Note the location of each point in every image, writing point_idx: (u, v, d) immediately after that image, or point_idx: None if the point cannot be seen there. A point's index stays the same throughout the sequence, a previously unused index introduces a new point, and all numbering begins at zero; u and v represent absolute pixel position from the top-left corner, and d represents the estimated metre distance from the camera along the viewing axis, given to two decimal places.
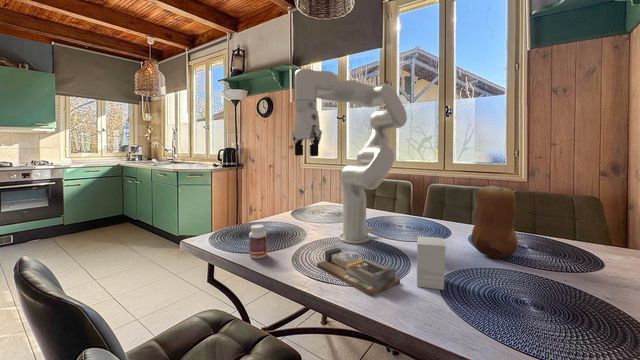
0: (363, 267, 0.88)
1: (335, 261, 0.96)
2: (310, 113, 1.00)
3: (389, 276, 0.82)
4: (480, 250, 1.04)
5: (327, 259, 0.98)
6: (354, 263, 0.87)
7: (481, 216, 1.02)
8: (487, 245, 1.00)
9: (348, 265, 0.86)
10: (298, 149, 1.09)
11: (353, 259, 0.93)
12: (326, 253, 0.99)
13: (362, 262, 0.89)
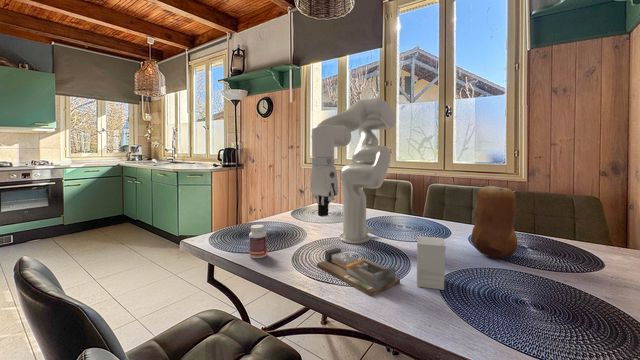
0: (363, 267, 0.88)
1: (335, 261, 0.96)
2: (328, 171, 0.96)
3: (389, 276, 0.82)
4: (480, 250, 1.04)
5: (327, 259, 0.98)
6: (354, 263, 0.87)
7: (481, 216, 1.02)
8: (487, 245, 1.00)
9: (348, 265, 0.86)
10: None
11: (353, 259, 0.93)
12: (326, 253, 0.99)
13: (362, 262, 0.89)
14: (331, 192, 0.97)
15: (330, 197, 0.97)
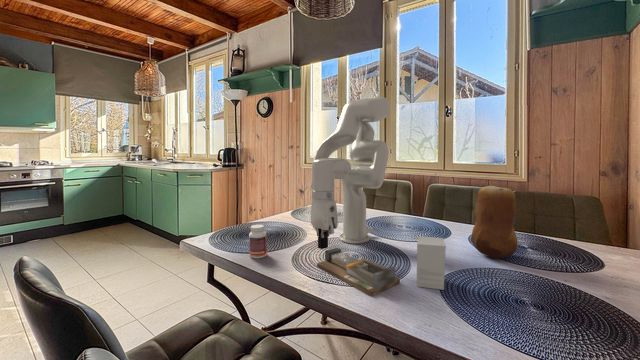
0: (363, 267, 0.88)
1: (335, 261, 0.96)
2: (328, 205, 0.97)
3: (389, 276, 0.82)
4: (480, 250, 1.04)
5: (327, 259, 0.98)
6: (354, 263, 0.87)
7: (481, 216, 1.02)
8: (487, 245, 1.00)
9: (348, 265, 0.86)
10: None
11: (353, 259, 0.93)
12: (326, 253, 0.99)
13: (362, 262, 0.89)
14: (331, 226, 0.98)
15: (330, 231, 0.98)
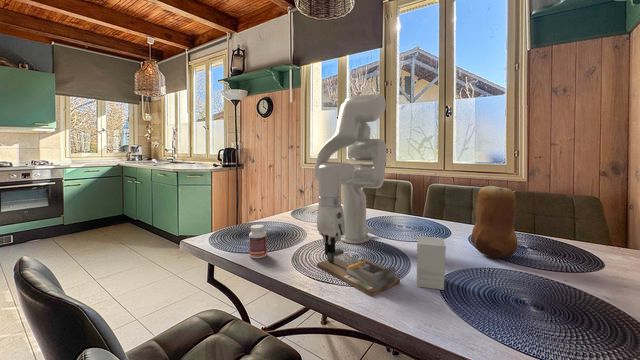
0: (365, 268, 0.88)
1: (338, 262, 0.95)
2: (335, 212, 0.95)
3: (389, 276, 0.82)
4: (480, 250, 1.04)
5: (329, 260, 0.97)
6: (356, 264, 0.86)
7: (481, 216, 1.02)
8: (487, 245, 1.00)
9: (350, 266, 0.85)
10: None
11: (356, 260, 0.92)
12: (328, 254, 0.98)
13: (364, 263, 0.88)
14: (338, 233, 0.96)
15: (337, 238, 0.96)
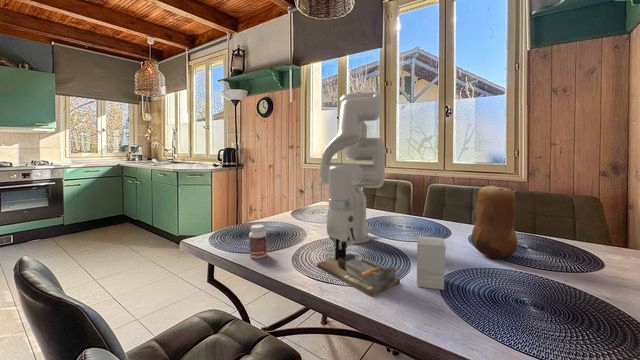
0: None
1: None
2: (347, 215, 0.91)
3: (389, 276, 0.82)
4: (480, 250, 1.04)
5: (340, 266, 0.93)
6: (370, 270, 0.82)
7: (481, 216, 1.02)
8: (487, 245, 1.00)
9: (364, 272, 0.81)
10: None
11: (369, 266, 0.88)
12: (339, 259, 0.93)
13: (378, 269, 0.84)
14: (350, 237, 0.92)
15: (349, 242, 0.92)
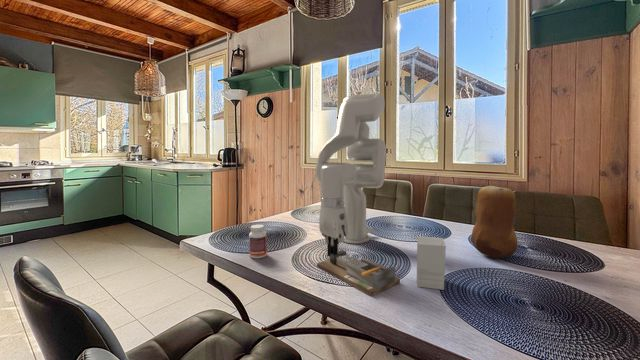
0: None
1: (340, 264, 0.94)
2: (338, 213, 0.94)
3: (389, 276, 0.82)
4: (480, 250, 1.04)
5: (332, 261, 0.96)
6: (370, 270, 0.82)
7: (481, 216, 1.02)
8: (487, 245, 1.00)
9: (364, 273, 0.81)
10: None
11: (359, 262, 0.91)
12: (331, 255, 0.96)
13: (378, 269, 0.84)
14: (341, 234, 0.95)
15: (340, 239, 0.95)
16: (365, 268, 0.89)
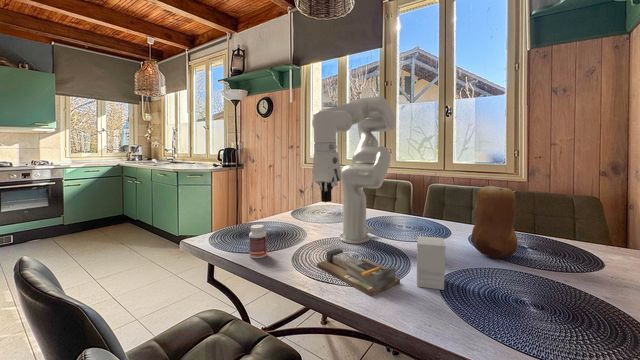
0: None
1: (337, 262, 0.95)
2: (331, 157, 0.96)
3: (389, 276, 0.82)
4: (480, 250, 1.04)
5: (329, 260, 0.98)
6: (370, 270, 0.82)
7: (481, 216, 1.02)
8: (487, 245, 1.00)
9: (364, 273, 0.81)
10: None
11: (355, 260, 0.93)
12: (328, 254, 0.98)
13: (378, 269, 0.84)
14: (334, 178, 0.97)
15: (333, 183, 0.97)
16: (361, 266, 0.90)
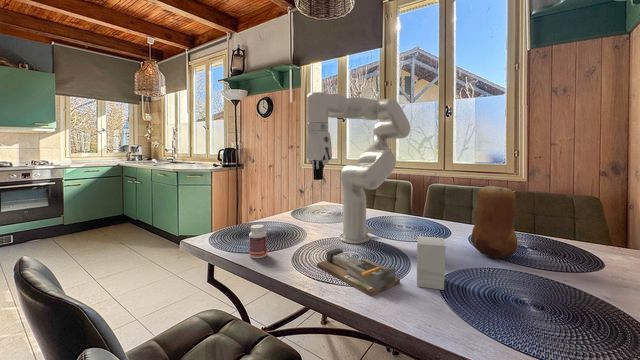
0: None
1: (337, 262, 0.95)
2: (322, 136, 1.02)
3: (389, 276, 0.82)
4: (480, 250, 1.04)
5: (329, 260, 0.98)
6: (370, 270, 0.82)
7: (481, 216, 1.02)
8: (487, 245, 1.00)
9: (364, 273, 0.81)
10: None
11: (355, 260, 0.93)
12: (328, 254, 0.98)
13: (378, 269, 0.84)
14: (325, 156, 1.03)
15: (324, 160, 1.03)
16: (361, 266, 0.90)
